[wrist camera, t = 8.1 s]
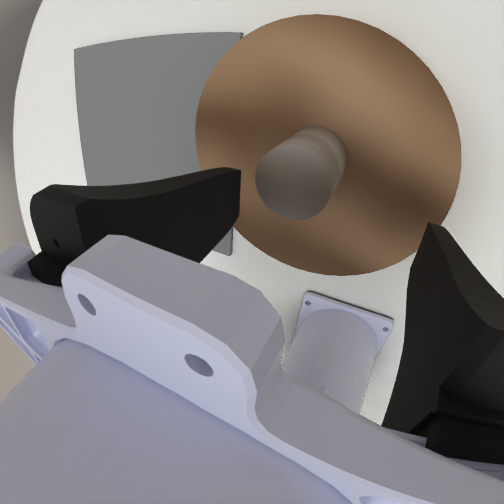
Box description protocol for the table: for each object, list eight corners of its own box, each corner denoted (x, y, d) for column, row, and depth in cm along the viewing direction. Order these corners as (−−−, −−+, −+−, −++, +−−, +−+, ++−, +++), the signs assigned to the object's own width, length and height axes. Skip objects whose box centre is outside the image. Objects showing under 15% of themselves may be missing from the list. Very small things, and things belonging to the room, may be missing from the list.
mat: (231, 253, 28) (229, 256, 28) (94, 206, 34) (91, 207, 33) (243, 32, 17) (240, 32, 17) (77, 48, 23) (73, 49, 22)
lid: (406, 297, 18) (399, 357, 14) (201, 227, 22) (158, 266, 18) (487, 62, 9) (522, 62, 6) (209, 10, 13) (148, 3, 10)
